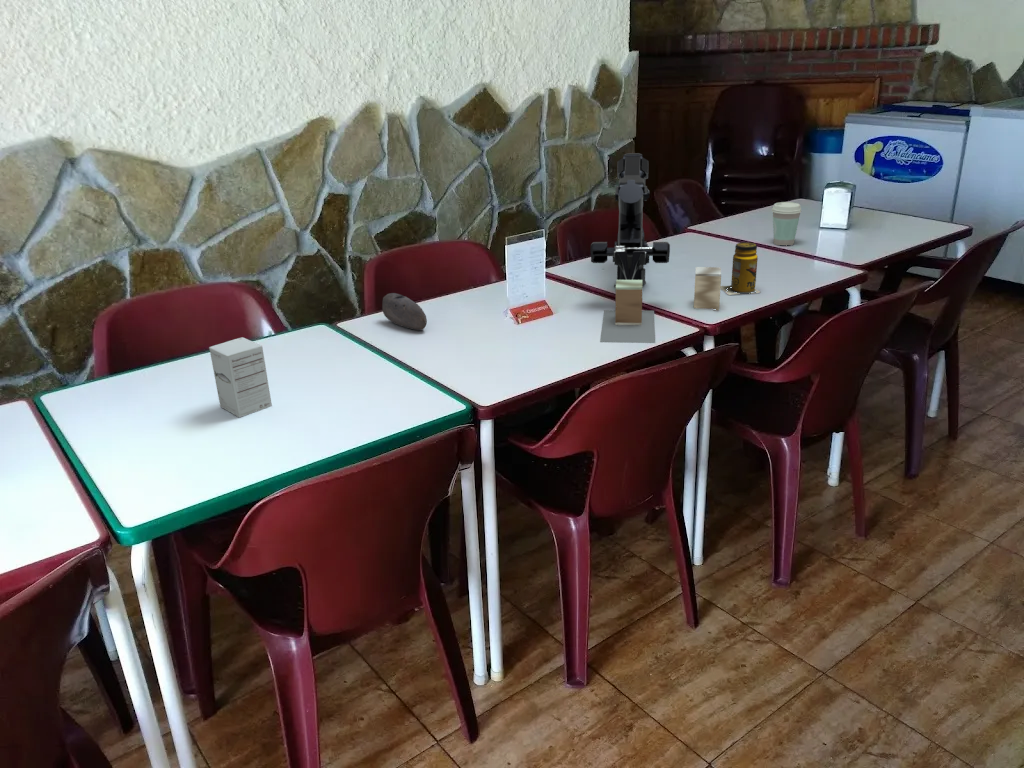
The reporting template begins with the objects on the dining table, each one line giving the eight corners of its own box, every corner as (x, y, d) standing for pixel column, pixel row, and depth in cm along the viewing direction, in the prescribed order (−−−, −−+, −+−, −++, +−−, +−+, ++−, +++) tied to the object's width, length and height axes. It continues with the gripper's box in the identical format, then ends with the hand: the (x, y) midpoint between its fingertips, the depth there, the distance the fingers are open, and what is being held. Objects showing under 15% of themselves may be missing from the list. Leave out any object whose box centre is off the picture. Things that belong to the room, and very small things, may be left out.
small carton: (616, 316, 202) (616, 279, 199) (641, 316, 202) (642, 279, 198) (615, 324, 197) (615, 287, 193) (641, 325, 196) (642, 287, 193)
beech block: (693, 309, 206) (695, 273, 203) (694, 302, 212) (695, 266, 208) (719, 310, 205) (721, 274, 201) (718, 302, 210) (720, 267, 207)
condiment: (760, 293, 216) (764, 246, 211) (728, 295, 215) (731, 249, 211) (749, 285, 223) (753, 239, 218) (718, 287, 222) (721, 242, 217)
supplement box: (219, 407, 163) (207, 346, 158) (254, 395, 168) (243, 335, 163) (238, 418, 159) (226, 355, 154) (273, 406, 163) (263, 344, 158)
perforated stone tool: (434, 331, 199) (432, 302, 197) (416, 336, 196) (413, 308, 194) (399, 316, 210) (397, 289, 207) (381, 321, 207) (378, 294, 204)
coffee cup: (779, 239, 265) (783, 200, 261) (804, 243, 259) (807, 204, 255) (763, 244, 260) (766, 204, 256) (787, 248, 254) (791, 208, 250)
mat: (604, 311, 207) (604, 310, 207) (653, 312, 205) (654, 310, 205) (600, 343, 187) (600, 342, 187) (655, 344, 186) (655, 342, 185)
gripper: (668, 244, 213) (667, 299, 207) (593, 244, 216) (591, 299, 210) (670, 219, 203) (669, 277, 197) (591, 220, 206) (589, 277, 200)
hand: (629, 283), depth 201 cm, fingers closed
